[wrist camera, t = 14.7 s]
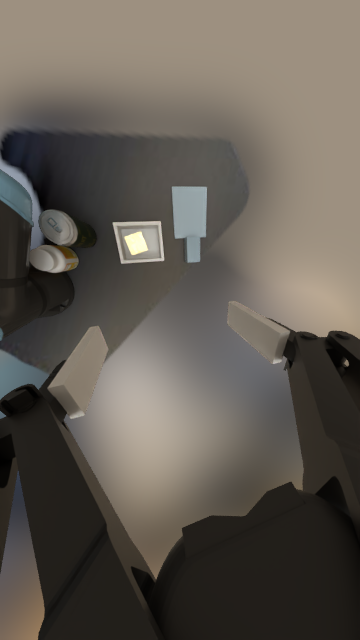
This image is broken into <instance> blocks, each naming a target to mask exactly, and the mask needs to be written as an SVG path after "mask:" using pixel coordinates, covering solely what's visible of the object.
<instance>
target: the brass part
mask: <svg viewBox="0 0 360 640" xmlns="http://www.w3.org/2000/svg"><path fill="white" fill-rule="evenodd" d="M124 238H125V240H126V242H127V245H128V247H129V249H130V252H131V254H132V255H136V254H139V253H141V252H144V251H147V250H148V249H147V246H146V243H145V241H144V238H143V236H142V233H141V231H140V232H137V233H134V234H131V235H129V236H126V237H124Z"/></svg>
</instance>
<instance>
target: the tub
mask: <svg viewBox="0 0 360 640" xmlns="http://www.w3.org/2000/svg"><path fill="white" fill-rule="evenodd" d="M113 227H114V231H115V236H116V241H117V245H118V250H119V255H120V259H121V264H123V263H137V262H152V261H164V252H163V241H162V230H161V221H150V222H113ZM140 231H141V233H142V236H143V238H144V241H145V243H146V246H147V249H148V250H147V251H144V252H141V253H139V254H136V255H132V254H131V252H130V249H129V247H128V245H127V242H126V240H125V238H124V237H126V236H129V235H131V234H134V233H137V232H140Z"/></svg>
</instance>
